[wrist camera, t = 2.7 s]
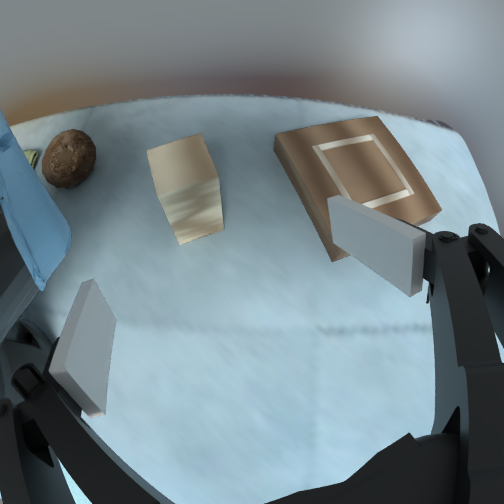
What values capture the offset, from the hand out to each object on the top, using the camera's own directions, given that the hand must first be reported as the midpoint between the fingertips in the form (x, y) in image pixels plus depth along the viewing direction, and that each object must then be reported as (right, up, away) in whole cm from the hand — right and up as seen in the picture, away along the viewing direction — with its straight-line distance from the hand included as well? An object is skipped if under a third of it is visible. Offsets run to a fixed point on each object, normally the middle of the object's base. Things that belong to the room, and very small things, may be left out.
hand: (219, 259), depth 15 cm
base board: (+15, +9, +20) cm, 26 cm away
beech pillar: (-5, +4, +17) cm, 18 cm away
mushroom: (-22, +11, +19) cm, 32 cm away
